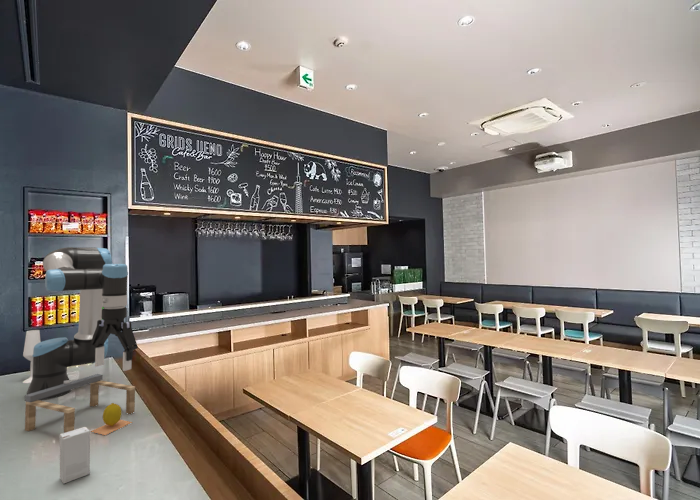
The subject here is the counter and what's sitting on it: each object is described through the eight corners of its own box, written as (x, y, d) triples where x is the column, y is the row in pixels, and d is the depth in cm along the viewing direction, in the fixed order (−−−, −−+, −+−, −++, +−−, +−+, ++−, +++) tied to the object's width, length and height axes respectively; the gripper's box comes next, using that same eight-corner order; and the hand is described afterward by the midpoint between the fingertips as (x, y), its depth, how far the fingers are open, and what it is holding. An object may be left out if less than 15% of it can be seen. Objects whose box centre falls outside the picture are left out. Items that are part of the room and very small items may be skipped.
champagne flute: (25, 379, 177) (26, 330, 178) (42, 377, 180) (44, 329, 181) (19, 383, 171) (21, 332, 172) (37, 381, 174) (39, 331, 175)
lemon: (112, 430, 124) (113, 406, 125) (98, 429, 125) (99, 405, 126) (125, 423, 130) (125, 400, 130) (111, 422, 131) (112, 399, 131)
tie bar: (24, 401, 125) (25, 391, 125) (97, 378, 148) (97, 370, 148) (30, 402, 124) (30, 392, 124) (102, 379, 147) (102, 371, 147)
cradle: (24, 430, 125) (25, 401, 125) (94, 404, 148) (95, 379, 148) (67, 441, 117) (68, 410, 118) (134, 412, 140) (135, 386, 140)
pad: (90, 432, 124) (90, 431, 124) (118, 420, 133) (118, 419, 133) (105, 435, 121) (105, 434, 121) (132, 423, 131) (132, 422, 131)
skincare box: (85, 468, 102) (86, 425, 103) (90, 474, 100) (91, 430, 100) (58, 478, 98) (59, 433, 98) (62, 485, 95) (63, 438, 95)
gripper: (79, 306, 130) (78, 366, 129) (130, 310, 121) (129, 374, 120) (100, 304, 137) (98, 361, 136) (149, 307, 128) (148, 368, 127)
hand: (113, 367), depth 128 cm, fingers open, 13 cm apart
